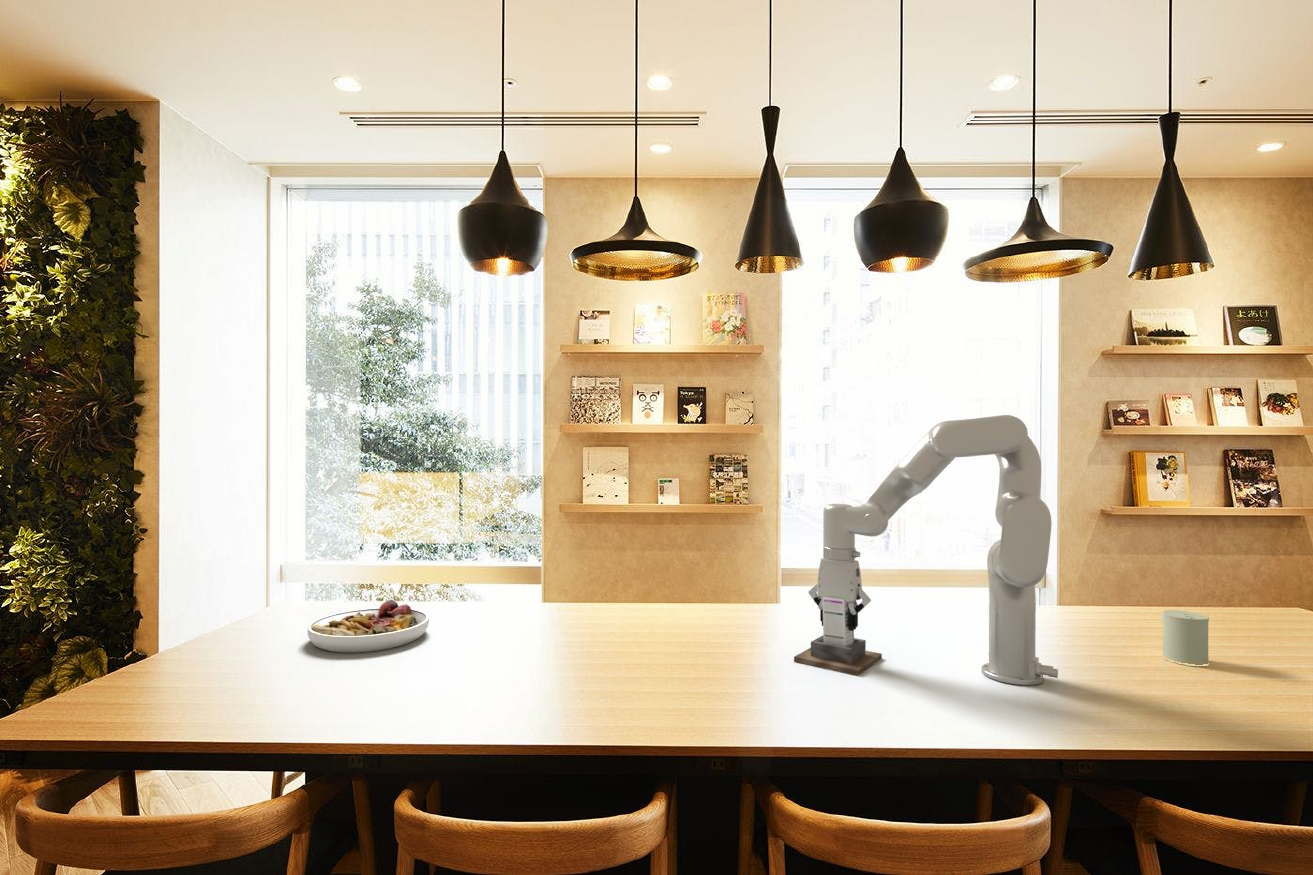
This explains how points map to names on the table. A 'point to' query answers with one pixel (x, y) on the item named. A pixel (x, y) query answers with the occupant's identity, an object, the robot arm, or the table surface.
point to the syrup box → (836, 622)
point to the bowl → (368, 628)
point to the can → (1185, 637)
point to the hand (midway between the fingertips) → (838, 626)
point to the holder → (839, 656)
